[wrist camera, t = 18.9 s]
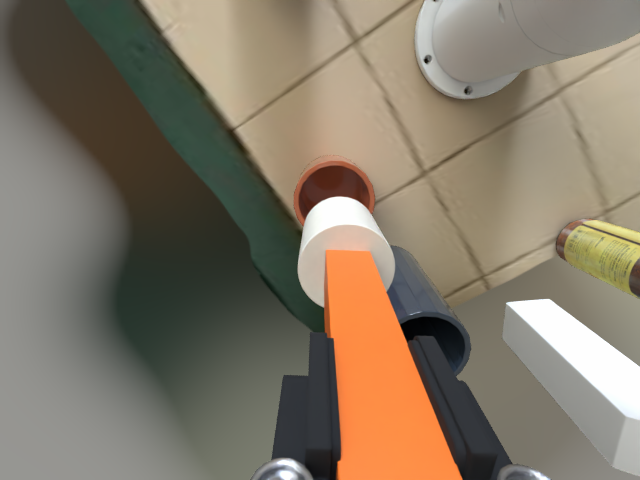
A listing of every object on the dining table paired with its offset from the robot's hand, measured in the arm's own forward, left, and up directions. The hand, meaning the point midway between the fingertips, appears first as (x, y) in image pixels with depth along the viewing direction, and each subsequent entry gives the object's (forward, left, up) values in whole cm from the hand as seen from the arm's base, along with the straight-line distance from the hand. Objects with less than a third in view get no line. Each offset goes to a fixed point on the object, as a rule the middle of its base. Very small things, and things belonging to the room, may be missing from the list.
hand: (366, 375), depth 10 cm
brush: (0, 0, -15) cm, 15 cm away
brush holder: (0, 0, -31) cm, 31 cm away
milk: (+17, +28, -32) cm, 45 cm away
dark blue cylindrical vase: (+11, +8, -31) cm, 34 cm away
